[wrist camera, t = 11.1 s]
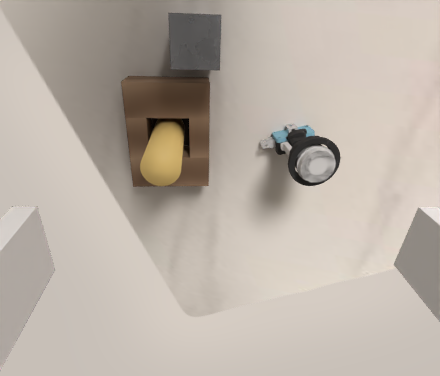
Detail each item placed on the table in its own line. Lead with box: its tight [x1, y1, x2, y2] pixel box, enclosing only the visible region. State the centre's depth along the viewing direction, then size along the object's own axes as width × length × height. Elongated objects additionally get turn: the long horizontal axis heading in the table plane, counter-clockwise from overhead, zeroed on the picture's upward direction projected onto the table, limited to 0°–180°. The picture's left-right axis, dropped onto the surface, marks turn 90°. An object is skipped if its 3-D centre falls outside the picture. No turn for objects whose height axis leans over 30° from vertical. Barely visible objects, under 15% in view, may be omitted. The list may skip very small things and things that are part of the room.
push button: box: [260, 124, 340, 186], centre depth 35 cm, size 7×5×10 cm
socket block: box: [121, 76, 210, 187], centre depth 36 cm, size 12×9×4 cm
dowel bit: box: [140, 118, 185, 186], centre depth 33 cm, size 4×4×12 cm
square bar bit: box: [168, 13, 221, 70], centre depth 29 cm, size 4×4×9 cm
